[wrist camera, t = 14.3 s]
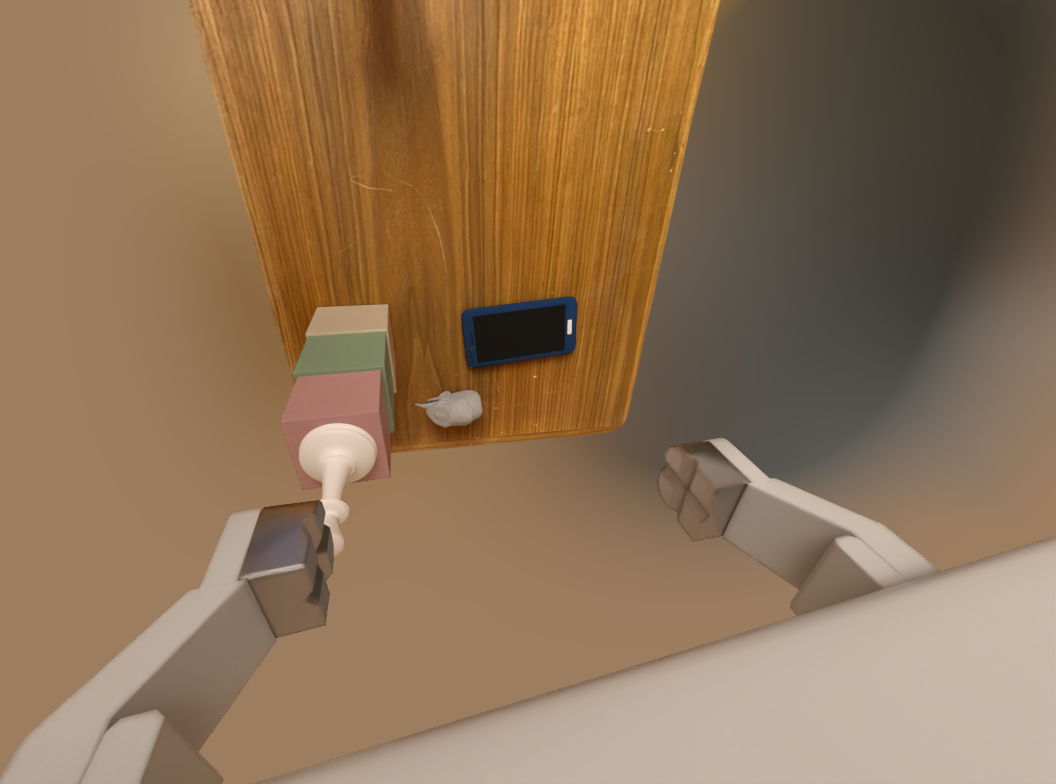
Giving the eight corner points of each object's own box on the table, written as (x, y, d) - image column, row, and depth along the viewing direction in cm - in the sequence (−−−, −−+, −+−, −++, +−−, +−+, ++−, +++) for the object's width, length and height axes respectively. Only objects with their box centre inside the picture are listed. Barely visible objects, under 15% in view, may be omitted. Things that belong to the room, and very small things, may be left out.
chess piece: (388, 434, 29) (386, 553, 20) (362, 485, 30) (351, 613, 22) (312, 413, 26) (277, 538, 18) (289, 469, 28) (247, 607, 20)
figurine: (476, 410, 54) (482, 432, 50) (413, 410, 51) (415, 434, 47) (479, 385, 52) (486, 406, 48) (414, 384, 49) (416, 406, 45)
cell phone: (573, 349, 53) (575, 352, 52) (467, 366, 50) (468, 369, 49) (575, 294, 49) (578, 297, 48) (460, 309, 46) (460, 312, 45)
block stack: (316, 307, 42) (268, 416, 26) (388, 303, 44) (385, 404, 27) (330, 367, 46) (296, 496, 29) (396, 362, 47) (398, 481, 31)
